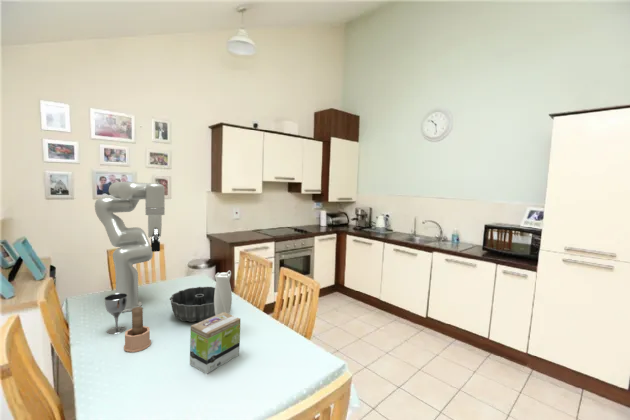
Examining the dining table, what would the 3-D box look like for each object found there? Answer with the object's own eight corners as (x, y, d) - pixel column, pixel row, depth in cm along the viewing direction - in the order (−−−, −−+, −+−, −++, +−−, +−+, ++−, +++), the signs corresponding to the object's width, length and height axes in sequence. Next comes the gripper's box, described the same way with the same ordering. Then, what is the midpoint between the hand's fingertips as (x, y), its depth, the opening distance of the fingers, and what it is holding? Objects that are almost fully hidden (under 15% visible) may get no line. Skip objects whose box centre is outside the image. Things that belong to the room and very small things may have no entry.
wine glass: (116, 335, 122) (115, 301, 121) (100, 333, 123) (99, 298, 122) (132, 327, 130) (131, 294, 128) (116, 324, 131) (116, 292, 130)
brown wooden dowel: (132, 342, 116) (132, 307, 115) (143, 340, 118) (142, 306, 117) (132, 346, 113) (131, 311, 112) (143, 344, 114) (142, 309, 113)
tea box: (207, 375, 99) (207, 333, 98) (189, 365, 104) (189, 325, 103) (240, 354, 112) (241, 317, 111) (222, 346, 117) (223, 310, 116)
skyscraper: (235, 332, 128) (236, 270, 126) (219, 338, 123) (220, 273, 120) (225, 326, 133) (226, 266, 131) (210, 331, 128) (211, 269, 126)
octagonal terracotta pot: (124, 343, 117) (124, 328, 116) (150, 337, 121) (150, 323, 121) (123, 354, 109) (122, 339, 108) (151, 348, 114) (151, 333, 113)
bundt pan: (213, 300, 163) (213, 282, 162) (237, 315, 145) (237, 296, 144) (162, 313, 145) (161, 293, 144) (182, 333, 126) (182, 311, 125)
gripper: (145, 209, 136) (145, 246, 138) (145, 213, 122) (146, 253, 123) (163, 209, 140) (163, 244, 142) (165, 213, 125) (166, 252, 127)
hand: (155, 249), depth 132 cm, fingers open, 9 cm apart
